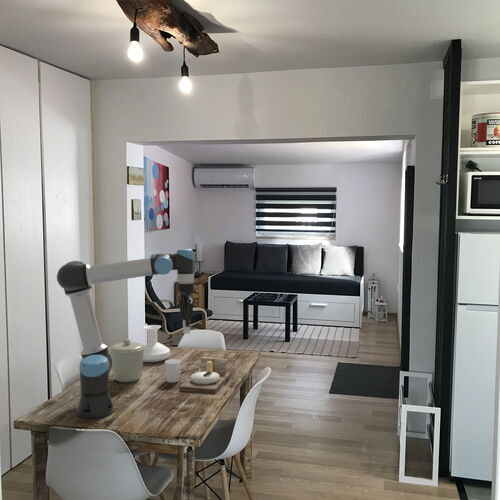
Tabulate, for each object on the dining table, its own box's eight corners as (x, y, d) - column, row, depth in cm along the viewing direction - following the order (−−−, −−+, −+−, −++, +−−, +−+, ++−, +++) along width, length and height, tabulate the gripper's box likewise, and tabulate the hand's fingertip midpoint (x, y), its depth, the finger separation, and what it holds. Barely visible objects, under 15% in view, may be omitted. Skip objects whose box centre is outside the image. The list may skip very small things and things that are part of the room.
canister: (108, 386, 258) (107, 344, 256) (110, 375, 275) (109, 335, 274) (146, 383, 261) (145, 342, 260) (145, 373, 279) (144, 334, 278)
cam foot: (211, 385, 251) (211, 370, 250) (186, 382, 256) (185, 367, 255) (223, 377, 264) (223, 362, 263) (199, 374, 269) (198, 359, 268)
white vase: (127, 360, 302) (127, 327, 301) (153, 353, 319) (152, 321, 317) (152, 366, 291) (152, 332, 289) (177, 358, 307) (176, 325, 306)
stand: (215, 393, 247) (215, 374, 246) (179, 390, 251) (179, 372, 250) (230, 376, 273) (230, 359, 272) (198, 373, 277) (198, 356, 277)
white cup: (178, 383, 262) (177, 363, 261) (163, 382, 263) (162, 363, 262) (183, 378, 269) (182, 359, 269) (168, 377, 271) (168, 358, 270)
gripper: (199, 283, 237) (199, 335, 239) (187, 280, 248) (188, 329, 250) (184, 284, 233) (184, 337, 235) (172, 281, 244) (173, 331, 246)
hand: (186, 333), depth 242 cm, fingers closed
